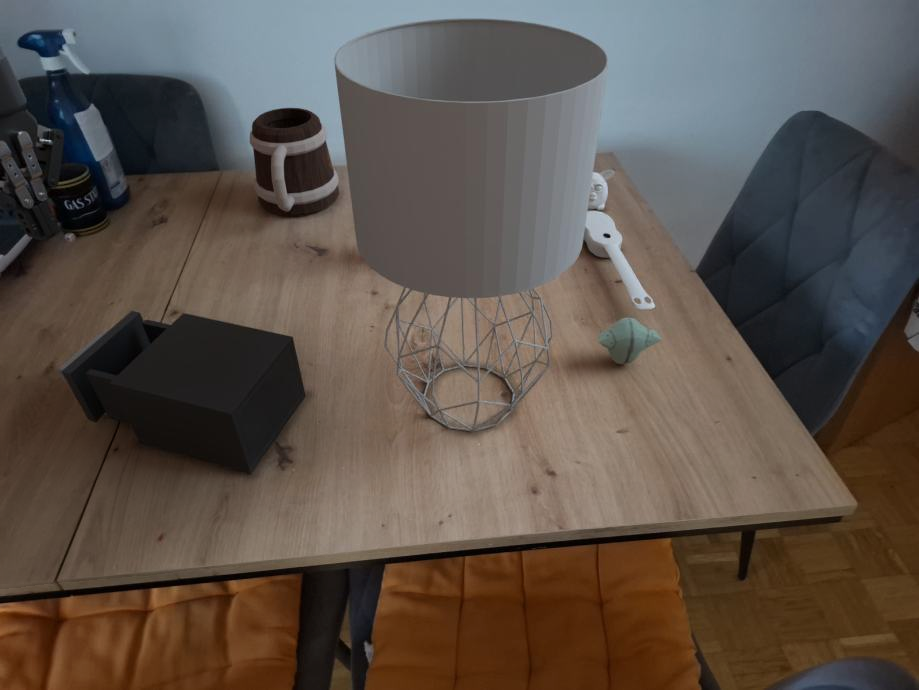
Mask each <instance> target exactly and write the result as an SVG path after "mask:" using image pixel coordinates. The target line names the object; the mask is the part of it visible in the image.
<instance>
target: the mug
mask: <svg viewBox="0 0 919 690" xmlns="http://www.w3.org/2000/svg"><path fill="white" fill-rule="evenodd" d="M327 132H328V131H327V130H326V126H324V124H323V123H322V122H321V120H320V117H319V116H318V115H317V114H316V113H314V112H313V111H311V110H309V109H306V108H301V107H281V108H275V109H271V110H268V111H265V112H263V113H261V114H259V115H258V116H257V117H256V118H255V119H254V120H253V121H252V124H251V130H250V132H249V144H250V146H251V147H252V149H253V158H254V159H253V160H254V170H255V178H254V183H253V186H254V187H253V189H254V191H255V193H256V195H257V202H258V203H259V205H260V208H263V209H265V210H266V211H268V212H270V213H271V214H274V215H278V216H283V217H302V216H308V215H314V214H316V213H319V212H321V211H324V210H326V209H328V208H329V207H331V206H332V205H333V204H334V203H335V202H336V201H337V199H338V198H339V196H340V189H339V176H338V172H337V171H336V169H334V167H333V162H332V158H331V154H330V150H329V146H328V143H327V139H328V133H327Z"/></svg>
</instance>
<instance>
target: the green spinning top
mask: <svg viewBox="0 0 919 690" xmlns="http://www.w3.org/2000/svg"><path fill="white" fill-rule="evenodd" d="M661 341H663V339H662V337H661V336H660V335H659V333H658V332H657V330H653V329H649V328H647V327H646V326H644V325H642V324H641V323H640V322H639V321H638V320H637V319H636V318H632V317H624V318H620V319H619V320H618V321H616V322H615V323H614V324H612V326H610V327H609V328H608V329H607V330H604V331H600V332H599V336H598V343H599V344H600V345H601V346H602V347H604V348H605V349H607V350H608V353H609V356H610V358H611V359H612V360H613V361H614V362H615V363H616V364H619V365H627V364H631V363H633V362H634V361H635V360H637V359H638V357H639V356H640V355H641V353H642V352H643V351H645V350H646V349H647V348H649V347H652V346H653V345H656V344H657V343H659V342H661Z"/></svg>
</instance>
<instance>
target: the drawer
mask: <svg viewBox="0 0 919 690" xmlns="http://www.w3.org/2000/svg"><path fill="white" fill-rule="evenodd" d="M170 325H171V324H169V323H164V322H160V321H155V320H151V319H143V317H142V314H141V312H140V311H135V310H130V311H129V312H128V313H127V314H126V315H125V316H124V317H123V318H122V319H120V320H119V321H118V322H117V323H115V325H113V326H112V327H111V328H110V329H108V330H107V332H99V333H98V334H97V335H96V336H94V338H92V339H91V340H90V341H89V342H87V343H86V344H85V345H84V346H82V348H80V349H79V350H78V351H77V352H75V354H73V356H71V357H70V358H69V359H67V361H65V362H64V363H63V364H62V365H61V366H60V367H59V368H57V371H56V372H57V375H59V377H61V378H62V379H65V381H66V382H67V385H68V386H69V388H70V390H71V391H72V394H73V396H74V397H75V399H76V401H77V402H78V404H79V406H80V408H81V410H82V412H84V415H85V417H86V419H87V421H90V422H93V423H98V422H99V421H100V420H101V419H103V417H104V416H105V415H107V417H108V419H109V420H113V421H116V422H120V423H123V424H128V425H130V424H129V422H128V420H127V418H126V416H125V414H124V412H123V410H122V408H121V406H120V404H119V402H118V400H117V398H116V396H115V394H114V392H113V389H112V387H111V385H110V382H111V381H112V380H113V379H114V378H115V377H116V376H117V375H119V374H120V373H121V372H122V371H123V370H124V369H125V368H126V367H127V366H128V365H129V364H130V363H131V362H132V361H133V360H134V359H135V358H136V357H138V356H139V355H140V354H141V353H142V352H143V351H144V350H145V349H146V348H147V347H148V346H149V345H150V344H151V343H152V342H153V341H154V340H155V339H156V338H158V337H159V336H160V335H161V334H162V333H163V332H164V331H165V330H166V329H167V328H168V327H169V326H170Z"/></svg>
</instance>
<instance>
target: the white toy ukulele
mask: <svg viewBox="0 0 919 690" xmlns="http://www.w3.org/2000/svg"><path fill="white" fill-rule="evenodd" d="M583 241H584V242H585V243H586V246H587V249H588V251H589V252H590V253H591V254H593V255H594V256H595V257H598V258H606V259H607V258H609V259H610V260H611V262H612V264H613V266H614V267H615V269H616V271H617V273H618V275H619V276H620V278H621V281H622V282H623V284H624V286H625V288H626V290H627V293H628V295H629V299H630V302H631V304H632V305H633V307H634V308H635V309H637V310H641V311H642V310H643V311H648V310H653V309H655V308H656V305H655V303H654V300H653V298H652V297H651V296H650V294H648V293H647V292H646V290H645V289H644V288H643V286H642V284H641V283H640V281H639V279H638V277H637V275H636V274H635V272H634V271H633V269H632V267H631V265H630V263H629V262H628V260H627V259H626V256H625V255H624V253H623V252H622V249H621V248H622V244H623V243H622V242H623V236H622V234H621V232H620V231H618V229H617V228H616V224H615V220H614V219H613V218H611V216H609V215H608V214H607V213H605V212H602V211H600V210H599V211H598V210H587V217H586V224H585V231H584V237H583ZM645 299H646V300H648V301H649V302H650V303H649V302H647V301H646V300H645ZM635 300H636V301H638V302H639V303H636V301H635Z"/></svg>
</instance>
